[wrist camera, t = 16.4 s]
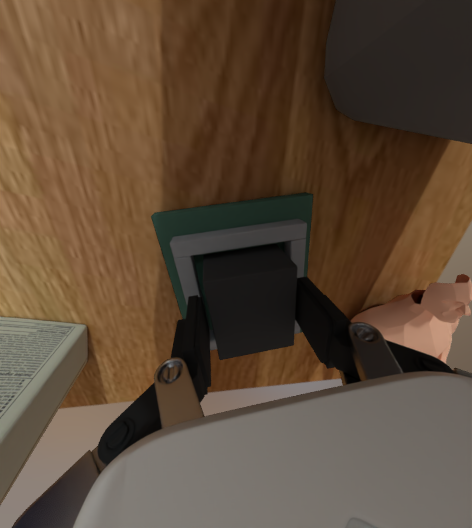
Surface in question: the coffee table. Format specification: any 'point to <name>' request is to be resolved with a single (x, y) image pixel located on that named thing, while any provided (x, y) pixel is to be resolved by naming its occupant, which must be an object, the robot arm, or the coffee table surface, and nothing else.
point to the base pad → (230, 238)
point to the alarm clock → (403, 64)
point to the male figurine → (423, 316)
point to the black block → (251, 299)
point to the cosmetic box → (33, 384)
